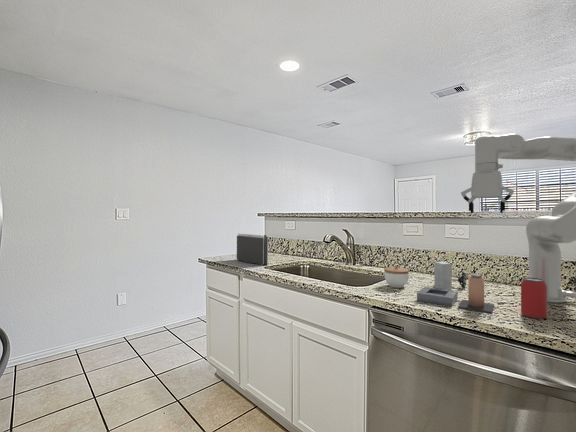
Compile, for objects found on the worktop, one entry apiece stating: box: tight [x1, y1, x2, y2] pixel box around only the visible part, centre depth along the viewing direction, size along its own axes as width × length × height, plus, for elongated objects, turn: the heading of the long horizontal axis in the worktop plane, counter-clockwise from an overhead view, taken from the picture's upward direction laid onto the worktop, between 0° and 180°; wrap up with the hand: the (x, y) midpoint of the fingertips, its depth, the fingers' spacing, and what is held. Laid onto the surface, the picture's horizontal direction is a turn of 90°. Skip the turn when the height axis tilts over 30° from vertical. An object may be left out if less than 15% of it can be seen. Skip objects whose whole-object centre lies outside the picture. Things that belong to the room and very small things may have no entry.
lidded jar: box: [383, 265, 410, 289], centre depth 141 cm, size 11×11×9 cm
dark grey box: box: [236, 232, 269, 265], centre depth 216 cm, size 35×22×20 cm, turn 44°
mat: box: [457, 299, 495, 314], centre depth 110 cm, size 10×10×1 cm
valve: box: [452, 272, 468, 289], centre depth 140 cm, size 7×7×12 cm
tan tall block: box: [467, 273, 485, 308], centre depth 109 cm, size 5×5×11 cm
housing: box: [416, 286, 458, 307], centre depth 119 cm, size 12×12×3 cm
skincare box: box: [433, 261, 453, 290], centre depth 132 cm, size 6×4×12 cm
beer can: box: [520, 276, 548, 320], centre depth 100 cm, size 7×7×12 cm
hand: (486, 212), depth 120 cm, fingers open, 9 cm apart
